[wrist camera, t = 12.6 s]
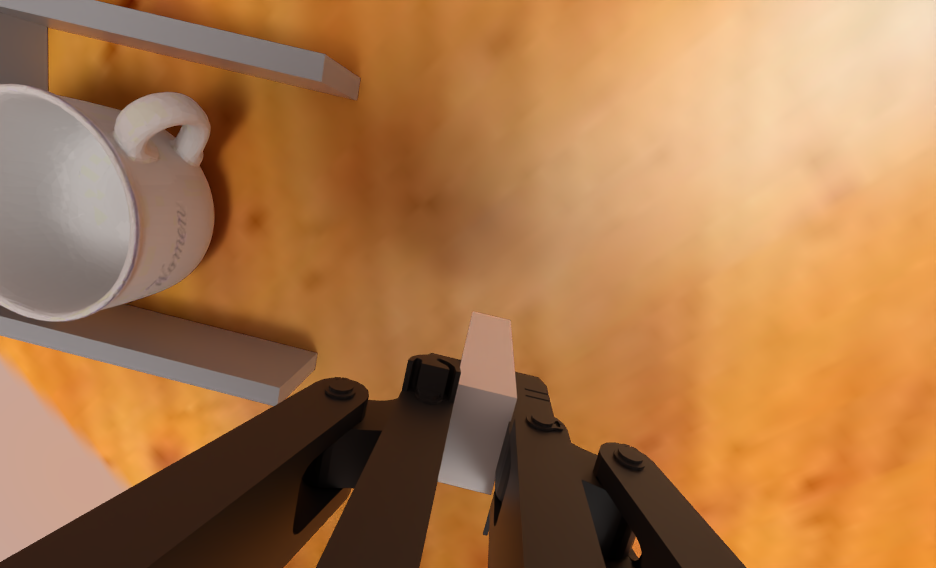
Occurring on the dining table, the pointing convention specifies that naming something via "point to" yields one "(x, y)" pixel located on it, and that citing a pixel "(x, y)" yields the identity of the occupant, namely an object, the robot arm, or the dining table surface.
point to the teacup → (98, 200)
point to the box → (131, 328)
